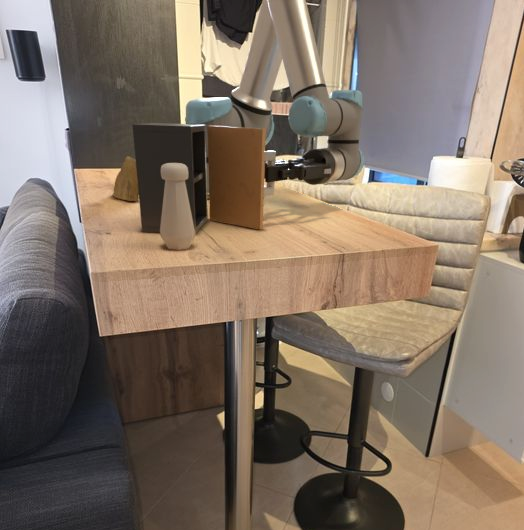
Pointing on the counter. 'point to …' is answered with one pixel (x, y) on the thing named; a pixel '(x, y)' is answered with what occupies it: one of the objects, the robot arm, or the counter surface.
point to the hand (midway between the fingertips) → (258, 173)
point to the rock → (127, 181)
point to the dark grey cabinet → (170, 151)
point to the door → (238, 175)
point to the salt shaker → (176, 208)
